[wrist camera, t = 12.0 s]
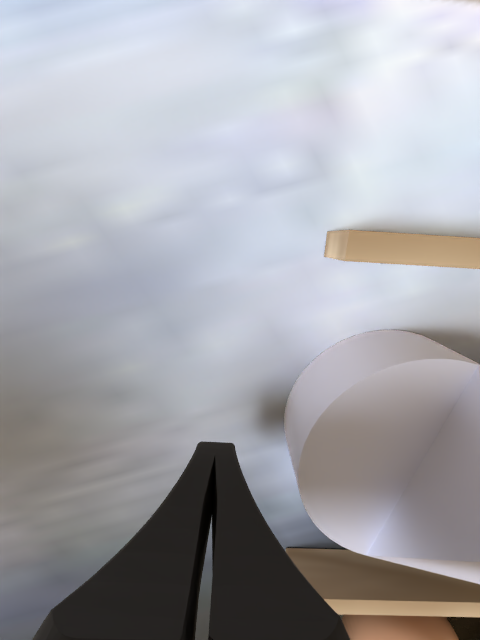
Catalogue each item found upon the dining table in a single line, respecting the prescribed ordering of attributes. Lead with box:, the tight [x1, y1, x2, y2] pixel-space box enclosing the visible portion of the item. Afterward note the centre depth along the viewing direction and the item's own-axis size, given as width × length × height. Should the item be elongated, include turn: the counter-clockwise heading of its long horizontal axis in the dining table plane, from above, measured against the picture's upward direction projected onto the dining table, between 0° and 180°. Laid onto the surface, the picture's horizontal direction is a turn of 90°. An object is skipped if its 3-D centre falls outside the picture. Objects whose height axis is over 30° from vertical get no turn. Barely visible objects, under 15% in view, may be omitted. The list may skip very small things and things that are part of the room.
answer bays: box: [286, 230, 480, 617], centre depth 15 cm, size 28×14×3 cm, turn 177°
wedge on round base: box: [284, 330, 480, 584], centre depth 11 cm, size 9×7×13 cm
